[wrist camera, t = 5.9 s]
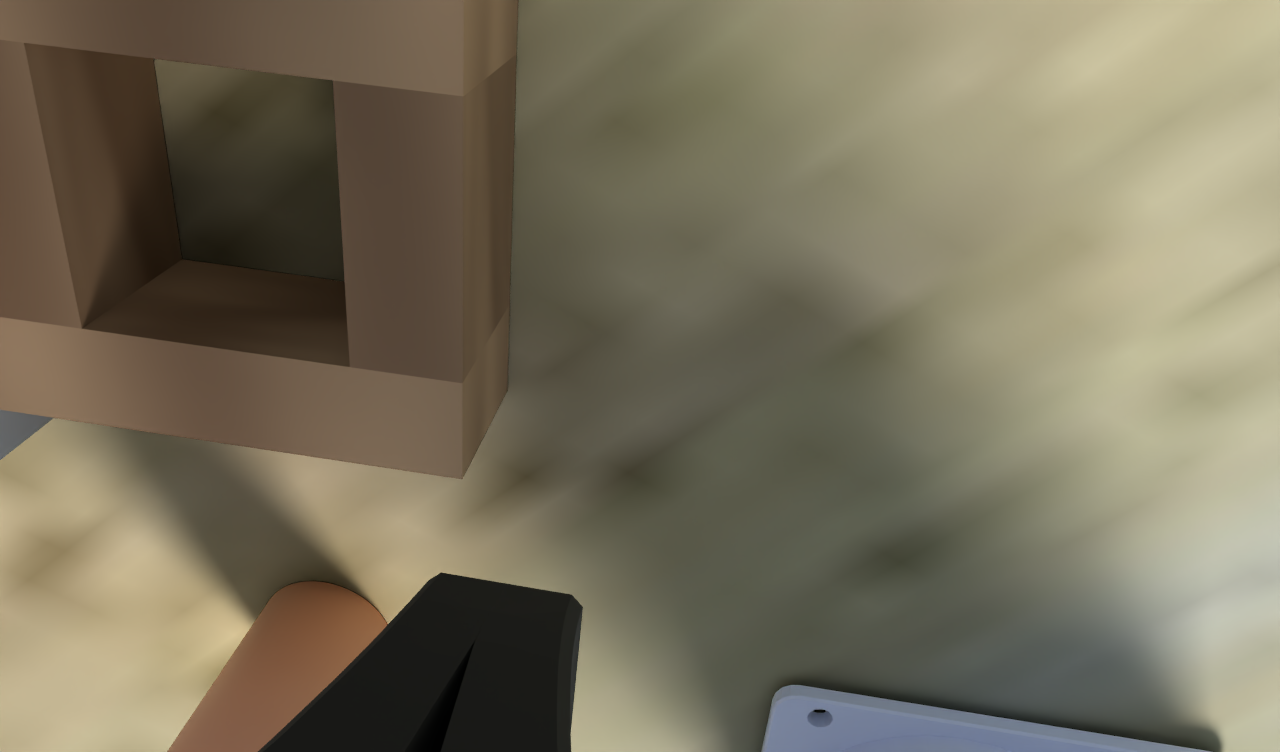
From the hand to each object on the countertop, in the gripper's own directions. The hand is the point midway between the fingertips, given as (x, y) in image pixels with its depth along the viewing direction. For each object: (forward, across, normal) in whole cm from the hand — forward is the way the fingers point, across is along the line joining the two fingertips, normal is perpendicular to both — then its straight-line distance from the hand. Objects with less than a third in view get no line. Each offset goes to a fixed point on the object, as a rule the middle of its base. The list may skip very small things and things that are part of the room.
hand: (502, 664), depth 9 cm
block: (+9, +6, -1) cm, 11 cm away
